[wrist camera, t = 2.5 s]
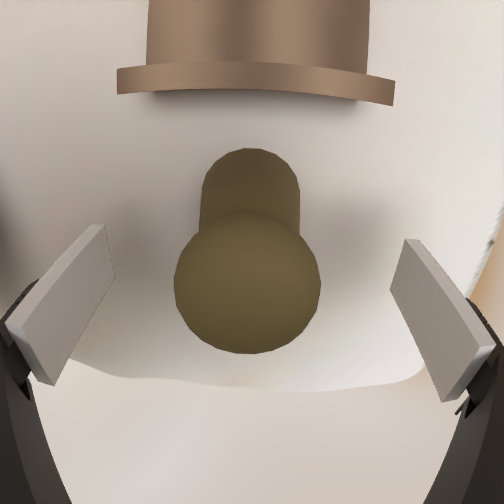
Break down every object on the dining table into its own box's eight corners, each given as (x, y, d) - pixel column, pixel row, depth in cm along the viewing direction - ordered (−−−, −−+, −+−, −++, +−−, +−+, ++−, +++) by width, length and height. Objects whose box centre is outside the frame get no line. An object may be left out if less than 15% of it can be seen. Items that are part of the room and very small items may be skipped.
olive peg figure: (211, 244, 21) (180, 379, 11) (193, 155, 18) (125, 245, 8) (302, 234, 21) (336, 368, 11) (295, 142, 18) (344, 221, 8)
